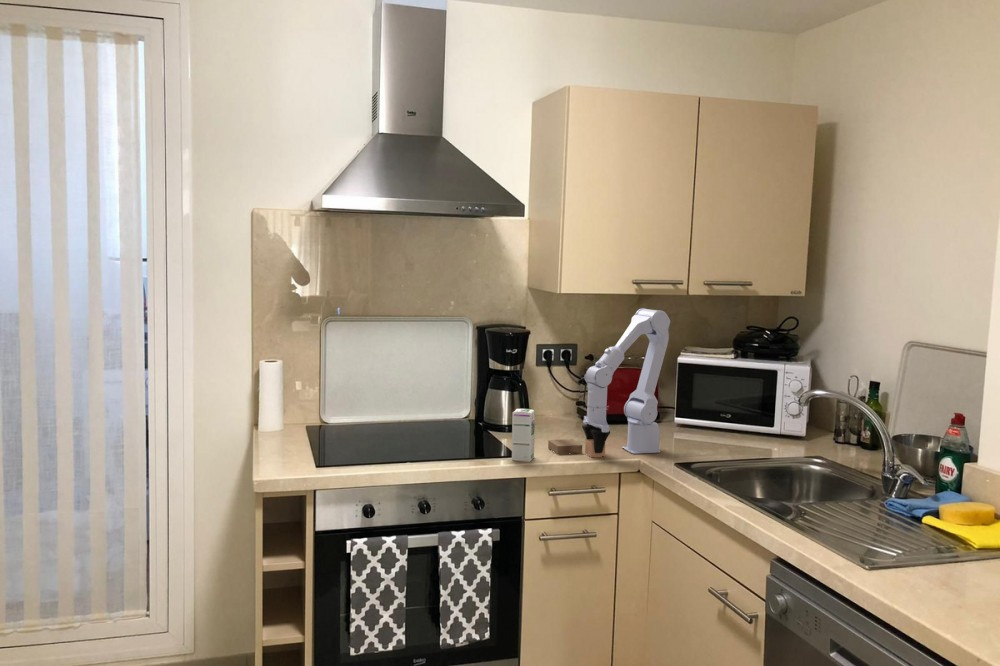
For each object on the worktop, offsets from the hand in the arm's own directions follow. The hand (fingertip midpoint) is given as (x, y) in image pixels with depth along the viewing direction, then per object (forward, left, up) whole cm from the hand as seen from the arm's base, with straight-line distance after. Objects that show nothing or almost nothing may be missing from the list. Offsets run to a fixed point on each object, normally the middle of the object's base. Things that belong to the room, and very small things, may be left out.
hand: (595, 450), depth 251 cm
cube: (0, 0, -1) cm, 1 cm away
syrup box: (+23, 0, -2) cm, 23 cm away
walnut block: (+7, -7, -2) cm, 10 cm away
